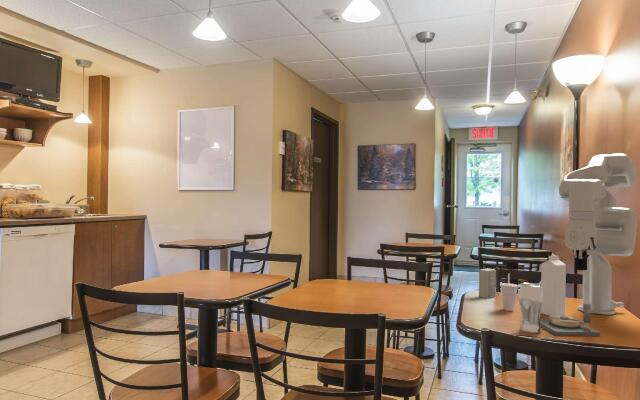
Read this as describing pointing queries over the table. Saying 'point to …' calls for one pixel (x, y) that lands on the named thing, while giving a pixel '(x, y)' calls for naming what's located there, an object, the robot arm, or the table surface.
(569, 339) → the table surface
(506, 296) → the smoothie
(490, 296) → the skincare box
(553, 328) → the board
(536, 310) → the beer glass
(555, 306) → the milk
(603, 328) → the table surface
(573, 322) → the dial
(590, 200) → the robot arm
